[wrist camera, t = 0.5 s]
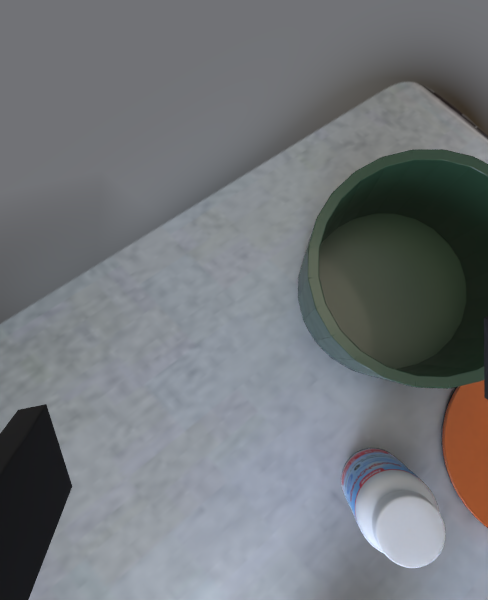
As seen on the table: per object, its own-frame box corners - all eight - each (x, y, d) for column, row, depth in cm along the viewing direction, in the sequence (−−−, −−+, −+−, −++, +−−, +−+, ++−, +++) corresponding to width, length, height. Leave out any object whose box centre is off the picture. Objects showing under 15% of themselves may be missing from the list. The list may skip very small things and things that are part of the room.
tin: (504, 261, 41) (602, 223, 29) (417, 410, 40) (481, 437, 28) (352, 178, 43) (383, 108, 31) (266, 318, 42) (263, 304, 30)
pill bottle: (375, 433, 40) (414, 464, 29) (420, 486, 40) (478, 540, 28) (326, 475, 40) (346, 523, 29) (370, 529, 39) (408, 600, 28)
